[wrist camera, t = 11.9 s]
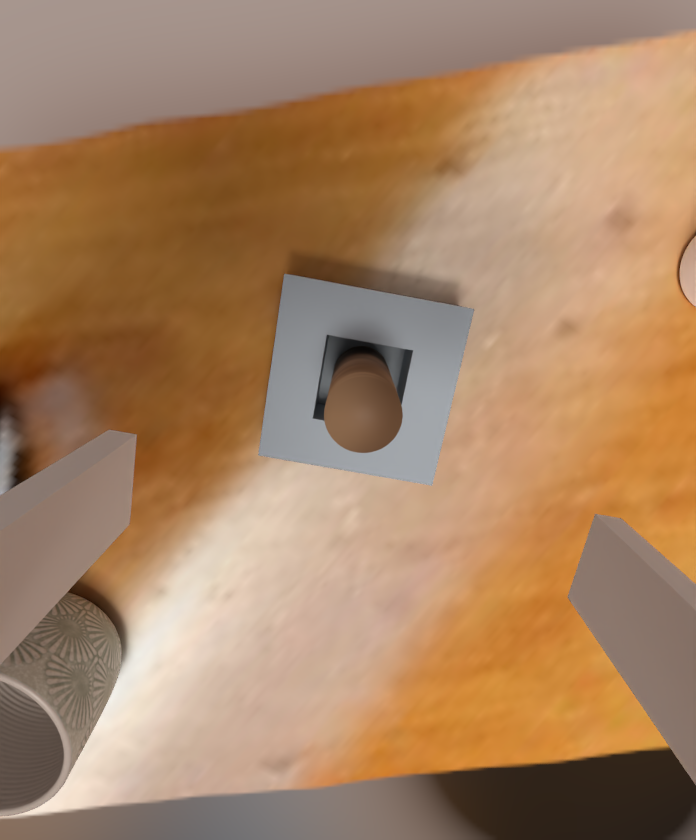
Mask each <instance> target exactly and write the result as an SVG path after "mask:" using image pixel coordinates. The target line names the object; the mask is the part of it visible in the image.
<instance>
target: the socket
mask: <svg viewBox="0 0 696 840" xmlns="http://www.w3.org/2000/svg"><path fill="white" fill-rule="evenodd" d="M473 312H474V309H471V308H467V307H462V306H458V305H452V304H447V303H442V302H436V301H431V300H426V299H420V298H415V297H410V296H404V295H399V294H394V293H388V292H383V291H377V290H372V289H367V288H361V287H356V286H351V285H345V284H340V283H335V282H329V281H324V280H319V279H313V278H308V277H303V276H297V275H291V274H284V279H283V286H282V293H281V300H280V307H279V314H278V321H277V328H276V335H275V342H274V349H273V356H272V363H271V370H270V377H269V384H268V391H267V398H266V405H265V412H264V419H263V426H262V433H261V440H260V447H259V454H258V455H259V456H265V457H271V458H276V459H282V460H288V461H294V462H299V463H305V464H311V465H317V466H322V467H328V468H334V469H340V470H345V471H351V472H357V473H363V474H368V475H374V476H380V477H386V478H391V479H397V480H403V481H409V482H414V483H420V484H426V485H432V484H433V480H434V475H435V471H436V467H437V463H438V459H439V454H440V450H441V446H442V442H443V438H444V434H445V429H446V425H447V421H448V417H449V413H450V408H451V404H452V400H453V396H454V392H455V388H456V383H457V379H458V375H459V371H460V367H461V362H462V358H463V354H464V350H465V346H466V342H467V337H468V333H469V329H470V325H471V321H472V316H473ZM356 346H367V347H370V348H373V349H375V350H376V351H378V352H379V353H380V354H381V355H382V356H383V357H384V359H385V361H386V363H387V366H388V368H389V371H390V374H391V377H392V380H393V383H394V385H395V388H396V391H397V394H398V397H399V400H400V402H401V406H402V412H403V418H402V424H401V427H400V430H399V432H398V434H397V435H396V437H395V438H394V439H393V440H392V441H391V442H390V443H389V444H388V445H387V446H385V447H384V448H382V449H380V450H377V451H374V452H370V453H357V452H352V451H349V450H347V449H345V448H343V447H341V446H340V445H338V444H337V443H336V442H335V441H334V440H333V439H332V437H331V436H330V434H329V433H328V431H327V429H326V425H325V421H324V409H325V405H326V400H327V396H328V392H329V388H330V384H331V380H332V375H333V371H334V367H335V364H336V361H337V360H338V358H339V357H340V355H341V354H342V353H343V352H345V351H346V350H348V349H350V348H352V347H356Z"/></svg>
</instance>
